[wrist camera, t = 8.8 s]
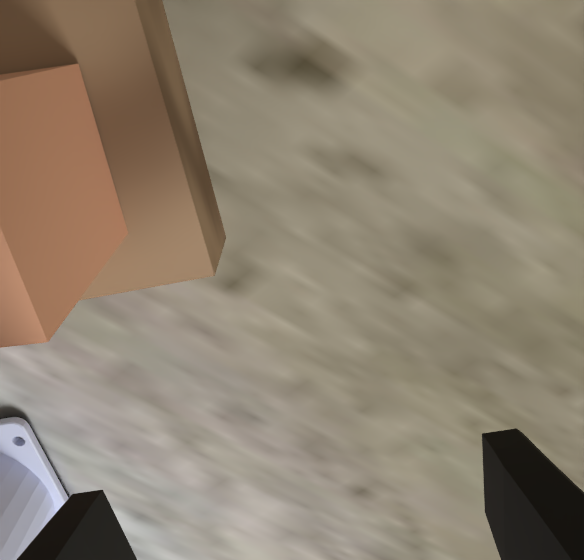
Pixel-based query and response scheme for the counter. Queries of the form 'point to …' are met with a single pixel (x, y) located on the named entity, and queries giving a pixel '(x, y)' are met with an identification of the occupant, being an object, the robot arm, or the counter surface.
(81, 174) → the terracotta block
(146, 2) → the walnut base block
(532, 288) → the counter surface
